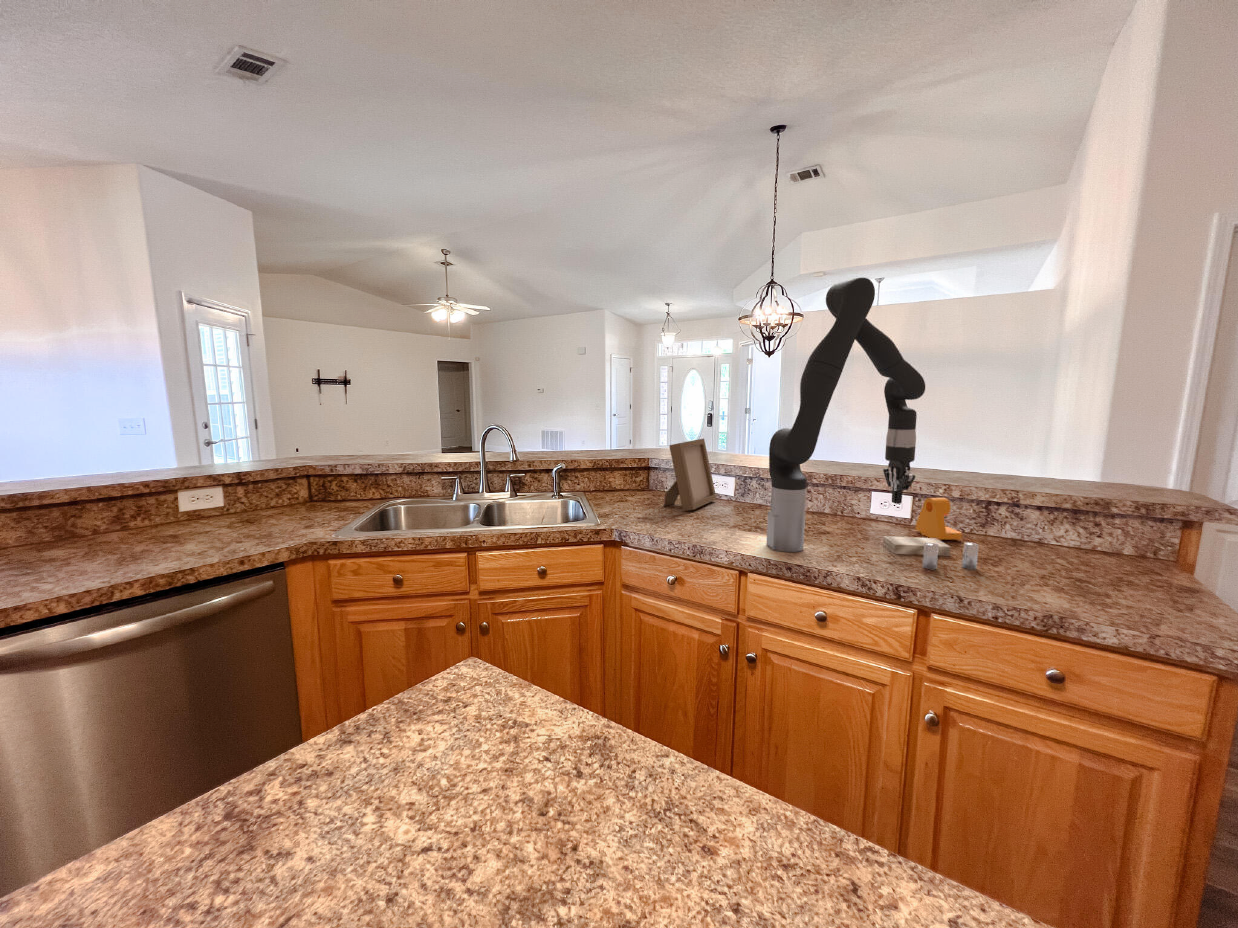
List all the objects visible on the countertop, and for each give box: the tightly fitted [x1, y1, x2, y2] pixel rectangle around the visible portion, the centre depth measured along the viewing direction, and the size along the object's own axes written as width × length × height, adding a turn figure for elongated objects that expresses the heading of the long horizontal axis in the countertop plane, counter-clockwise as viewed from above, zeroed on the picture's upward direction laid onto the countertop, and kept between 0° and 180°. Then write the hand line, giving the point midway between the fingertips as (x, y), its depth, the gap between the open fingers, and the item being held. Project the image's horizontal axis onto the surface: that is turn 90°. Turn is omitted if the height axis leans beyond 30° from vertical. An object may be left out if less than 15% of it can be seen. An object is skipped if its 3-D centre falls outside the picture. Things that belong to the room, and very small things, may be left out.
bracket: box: [915, 497, 962, 540], centre depth 152 cm, size 11×7×12 cm, turn 2°
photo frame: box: [663, 438, 717, 512], centre depth 194 cm, size 15×22×25 cm
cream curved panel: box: [882, 535, 952, 557], centre depth 139 cm, size 14×8×3 cm, turn 82°
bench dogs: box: [921, 541, 980, 571], centre depth 125 cm, size 13×3×6 cm, turn 91°
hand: (896, 502), depth 149 cm, fingers closed
